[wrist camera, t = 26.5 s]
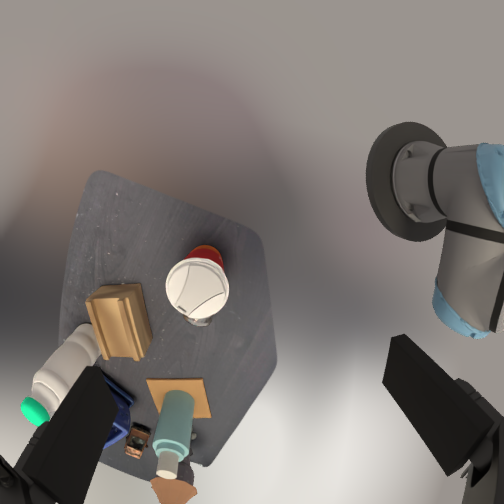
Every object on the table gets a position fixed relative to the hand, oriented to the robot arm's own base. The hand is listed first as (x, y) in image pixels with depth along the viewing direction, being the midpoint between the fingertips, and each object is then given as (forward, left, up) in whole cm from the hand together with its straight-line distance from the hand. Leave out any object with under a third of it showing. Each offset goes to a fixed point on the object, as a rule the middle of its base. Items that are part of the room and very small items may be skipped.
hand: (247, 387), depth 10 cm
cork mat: (+15, +33, -34) cm, 50 cm away
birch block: (+21, +12, -34) cm, 42 cm away
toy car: (+30, +48, -35) cm, 67 cm away
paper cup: (+5, +3, -35) cm, 35 cm away
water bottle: (+31, +17, -35) cm, 49 cm away
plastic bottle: (+15, +37, -24) cm, 46 cm away
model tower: (+18, +46, -35) cm, 60 cm away
